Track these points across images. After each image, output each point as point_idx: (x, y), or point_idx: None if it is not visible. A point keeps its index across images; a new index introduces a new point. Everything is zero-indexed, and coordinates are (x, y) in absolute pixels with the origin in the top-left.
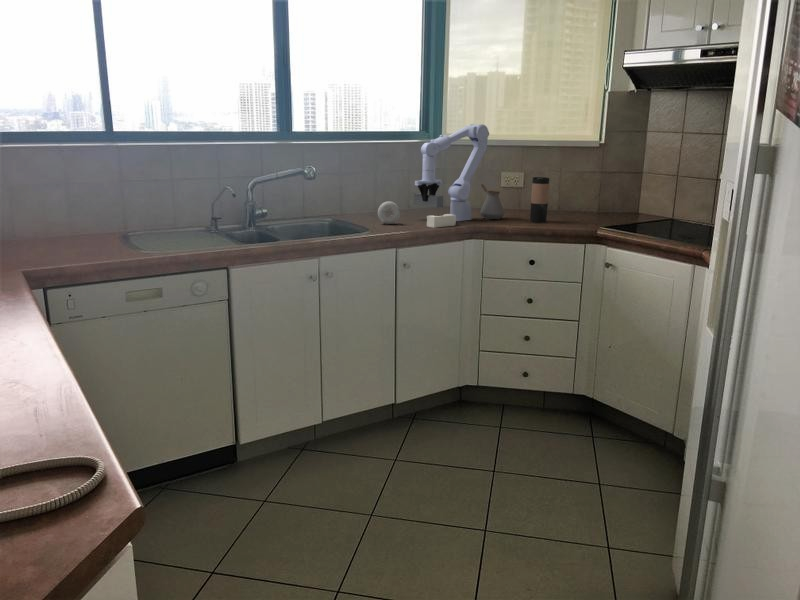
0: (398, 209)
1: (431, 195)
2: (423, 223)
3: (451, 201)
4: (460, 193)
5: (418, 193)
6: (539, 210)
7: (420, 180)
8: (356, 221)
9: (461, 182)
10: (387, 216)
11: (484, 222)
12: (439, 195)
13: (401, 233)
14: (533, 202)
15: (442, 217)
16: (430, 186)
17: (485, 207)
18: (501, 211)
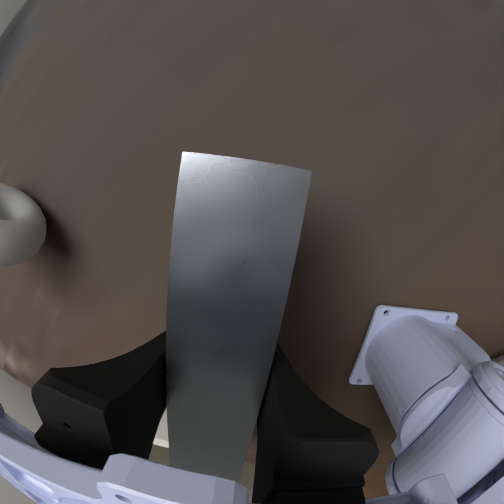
0: (6, 265)
1: (169, 447)
2: (164, 311)
3: (410, 402)
4: (398, 492)
5: (187, 250)
6: None
7: (29, 472)
8: (18, 71)
9: None
10: (5, 215)
11: (389, 432)
12: (228, 478)
13: (6, 366)
14: None
15: (154, 440)
16: (270, 467)
17: None
18: None
